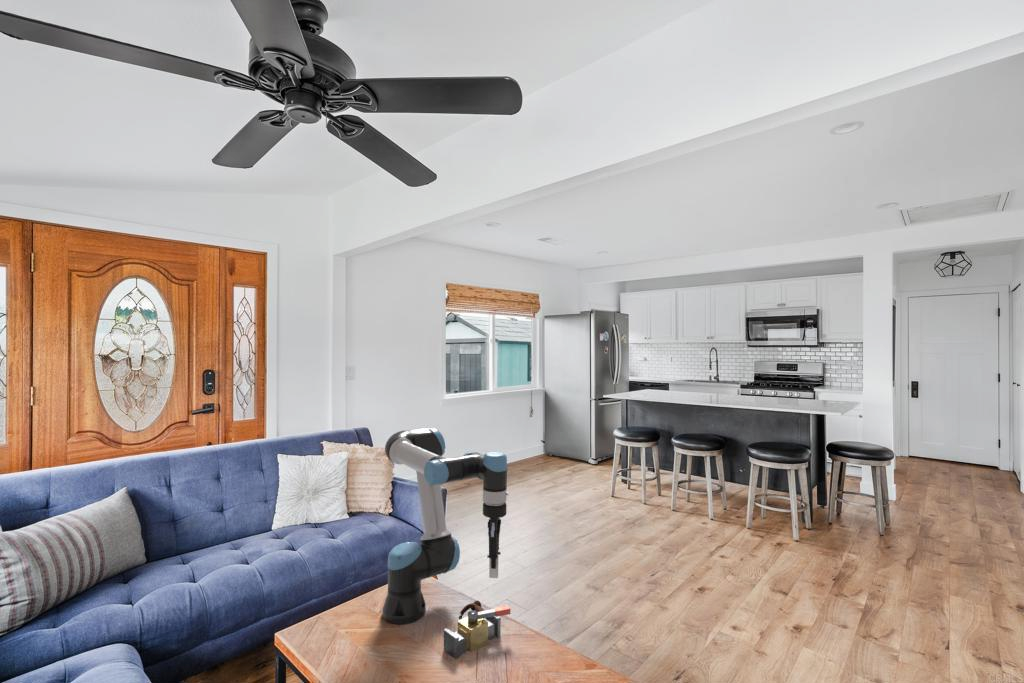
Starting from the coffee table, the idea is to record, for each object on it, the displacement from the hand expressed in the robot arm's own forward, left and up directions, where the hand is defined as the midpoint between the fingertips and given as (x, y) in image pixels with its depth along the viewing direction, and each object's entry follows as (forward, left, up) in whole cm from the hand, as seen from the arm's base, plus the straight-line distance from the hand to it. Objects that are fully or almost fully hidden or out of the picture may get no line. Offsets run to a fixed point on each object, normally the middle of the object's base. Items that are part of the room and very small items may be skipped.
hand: (493, 576), depth 157 cm
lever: (-4, +2, -15) cm, 16 cm away
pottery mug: (-14, +4, -23) cm, 27 cm away
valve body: (-6, -3, -22) cm, 24 cm away
